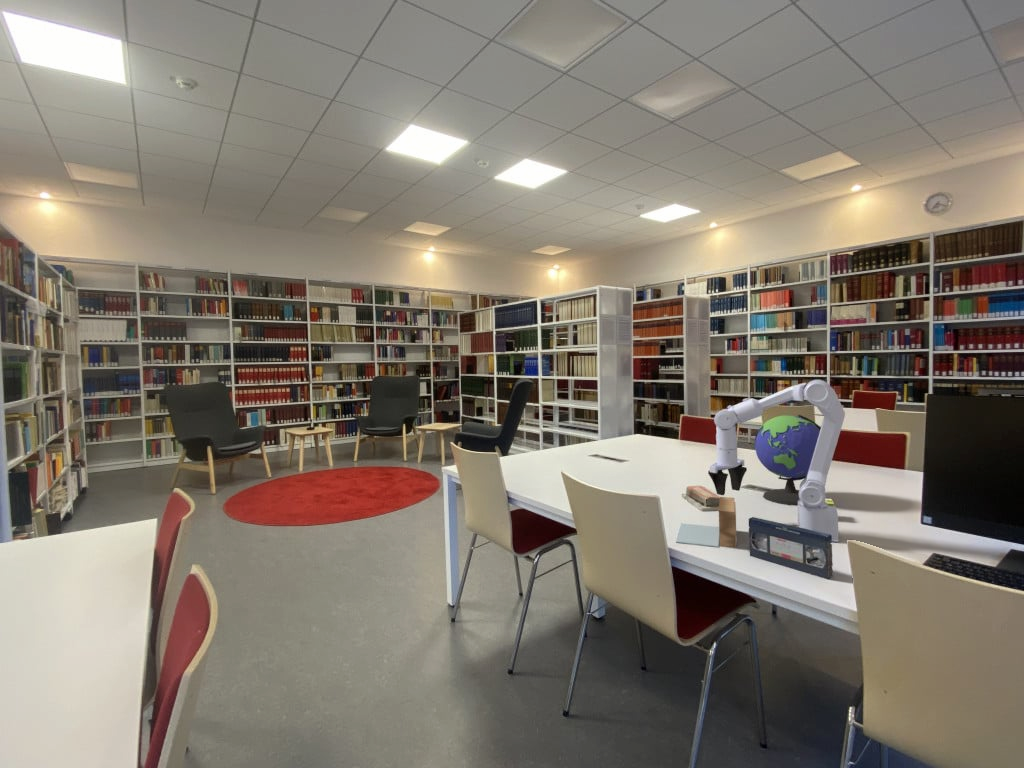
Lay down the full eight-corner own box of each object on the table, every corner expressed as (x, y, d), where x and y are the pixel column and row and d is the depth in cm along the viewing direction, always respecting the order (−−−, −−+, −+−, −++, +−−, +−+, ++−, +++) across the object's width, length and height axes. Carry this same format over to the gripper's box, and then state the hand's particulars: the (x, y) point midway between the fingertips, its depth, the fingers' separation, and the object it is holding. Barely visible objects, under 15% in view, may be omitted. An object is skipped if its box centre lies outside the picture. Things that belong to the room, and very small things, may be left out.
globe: (775, 486, 185) (774, 410, 183) (839, 498, 166) (837, 414, 165) (742, 497, 173) (740, 416, 171) (807, 512, 154) (805, 420, 153)
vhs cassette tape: (748, 556, 123) (747, 518, 122) (754, 553, 124) (753, 515, 124) (827, 580, 108) (827, 537, 107) (833, 577, 109) (832, 534, 109)
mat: (719, 527, 143) (719, 526, 143) (718, 547, 129) (718, 546, 129) (681, 524, 148) (681, 523, 148) (675, 542, 133) (675, 541, 133)
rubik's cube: (834, 521, 145) (834, 503, 144) (813, 519, 147) (813, 502, 147) (831, 516, 149) (831, 498, 149) (811, 514, 152) (810, 497, 152)
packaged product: (680, 485, 177) (706, 484, 177) (680, 498, 177) (707, 496, 177) (701, 498, 159) (730, 497, 159) (701, 512, 159) (730, 511, 159)
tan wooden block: (736, 530, 140) (735, 497, 140) (736, 548, 128) (735, 512, 127) (720, 529, 142) (719, 496, 142) (719, 546, 130) (718, 510, 129)
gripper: (729, 443, 152) (730, 485, 153) (700, 450, 145) (702, 494, 145) (750, 446, 146) (751, 489, 147) (721, 453, 139) (722, 498, 139)
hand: (728, 492), depth 145 cm, fingers open, 7 cm apart
